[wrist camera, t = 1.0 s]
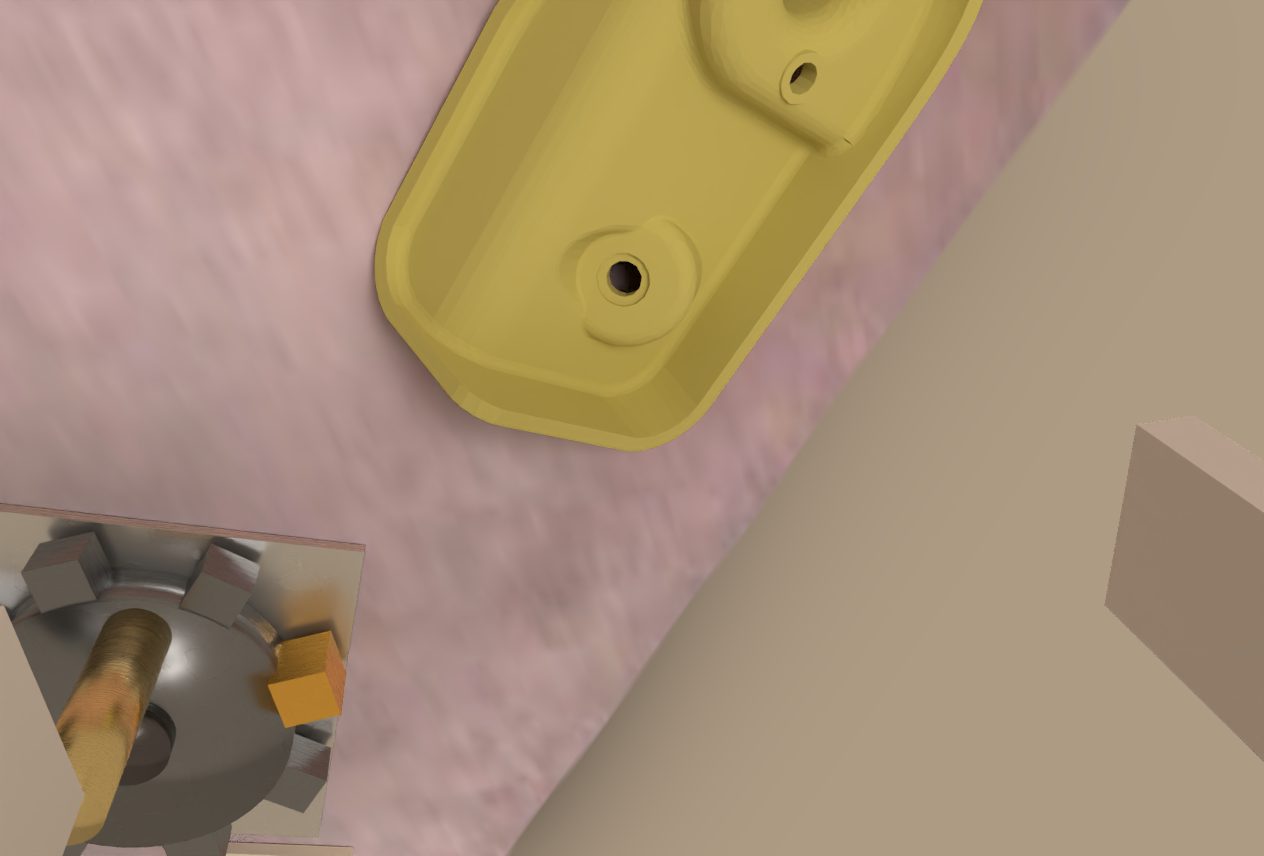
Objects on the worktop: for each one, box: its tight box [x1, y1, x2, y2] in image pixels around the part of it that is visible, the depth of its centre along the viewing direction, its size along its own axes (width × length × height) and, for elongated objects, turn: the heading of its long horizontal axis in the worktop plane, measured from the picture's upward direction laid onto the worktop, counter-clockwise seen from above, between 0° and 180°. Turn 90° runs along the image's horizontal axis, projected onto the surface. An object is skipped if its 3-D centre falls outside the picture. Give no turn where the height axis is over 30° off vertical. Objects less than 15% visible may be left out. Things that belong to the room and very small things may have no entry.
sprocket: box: [8, 531, 346, 856], centre depth 34 cm, size 14×14×10 cm
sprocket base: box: [0, 504, 365, 837], centre depth 39 cm, size 14×14×1 cm
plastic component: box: [374, 0, 983, 451], centre depth 31 cm, size 20×7×10 cm
